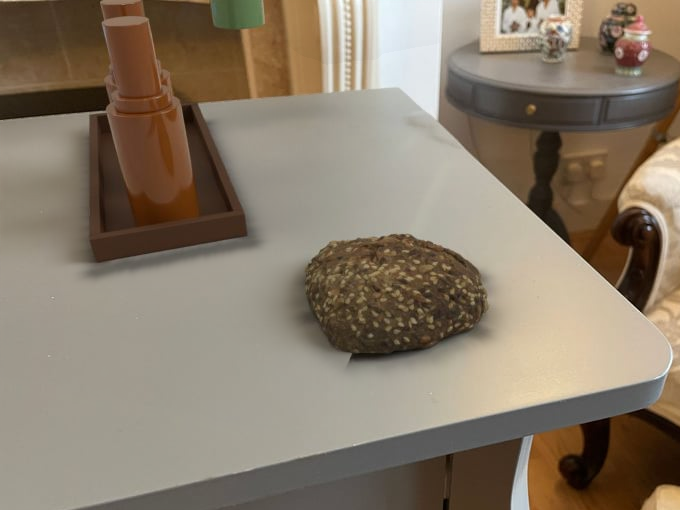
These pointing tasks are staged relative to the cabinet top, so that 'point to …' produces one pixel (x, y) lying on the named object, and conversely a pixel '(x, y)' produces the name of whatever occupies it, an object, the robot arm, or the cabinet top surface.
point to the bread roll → (393, 293)
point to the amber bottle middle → (120, 4)
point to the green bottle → (237, 13)
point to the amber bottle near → (148, 128)
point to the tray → (127, 241)
